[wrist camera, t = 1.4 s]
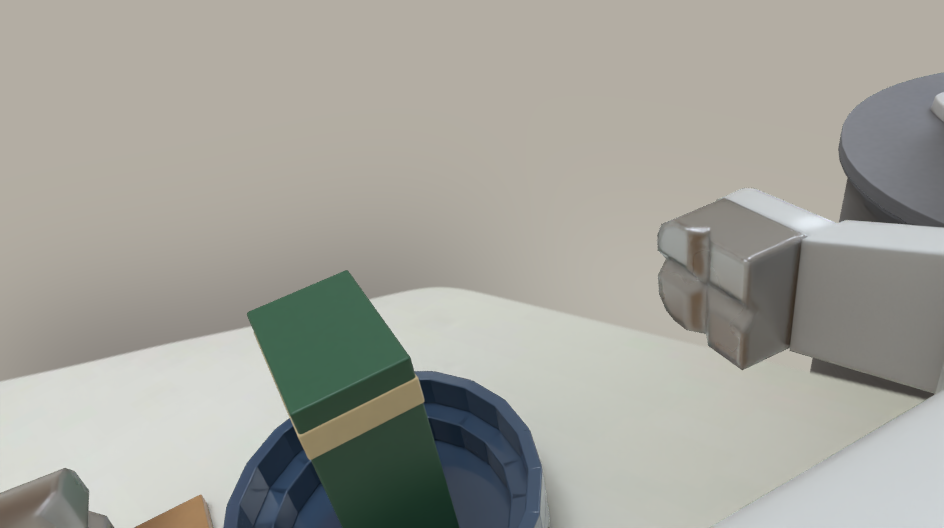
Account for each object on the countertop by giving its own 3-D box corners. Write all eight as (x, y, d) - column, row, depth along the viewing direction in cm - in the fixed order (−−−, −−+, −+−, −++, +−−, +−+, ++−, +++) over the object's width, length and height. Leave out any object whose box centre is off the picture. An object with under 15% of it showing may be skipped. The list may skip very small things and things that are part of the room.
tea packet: (412, 464, 33) (348, 267, 26) (472, 563, 28) (412, 357, 21) (334, 506, 31) (243, 311, 24) (382, 617, 27) (288, 417, 20)
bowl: (463, 387, 37) (450, 333, 35) (614, 582, 27) (610, 524, 25) (228, 507, 33) (196, 455, 31) (304, 787, 23) (266, 742, 21)
